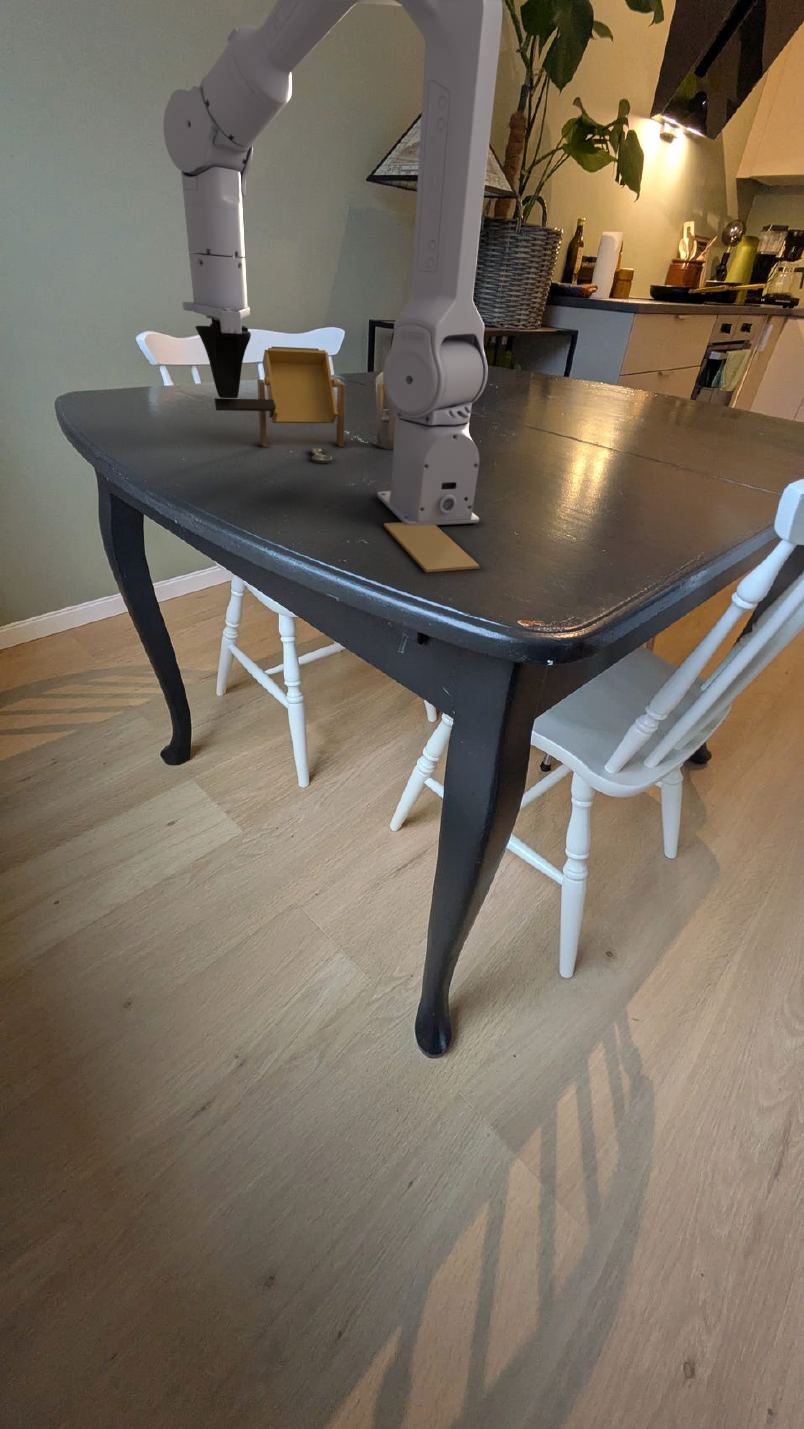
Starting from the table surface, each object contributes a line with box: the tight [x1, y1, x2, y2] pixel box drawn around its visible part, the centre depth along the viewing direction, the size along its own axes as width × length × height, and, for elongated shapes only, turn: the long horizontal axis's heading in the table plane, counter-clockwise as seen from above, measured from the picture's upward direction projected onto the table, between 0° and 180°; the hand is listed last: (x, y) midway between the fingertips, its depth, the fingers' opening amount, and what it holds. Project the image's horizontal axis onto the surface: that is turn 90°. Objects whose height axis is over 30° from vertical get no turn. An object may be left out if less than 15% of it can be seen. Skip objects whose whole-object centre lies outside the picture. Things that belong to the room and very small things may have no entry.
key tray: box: [214, 346, 339, 424], centre depth 79 cm, size 9×16×3 cm
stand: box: [257, 379, 346, 448], centre depth 81 cm, size 2×11×8 cm, turn 110°
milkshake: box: [375, 371, 396, 450], centre depth 84 cm, size 4×5×10 cm
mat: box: [383, 521, 480, 573], centre depth 58 cm, size 11×5×1 cm, turn 20°
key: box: [308, 448, 333, 464], centre depth 79 cm, size 5×2×1 cm, turn 22°
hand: (227, 397), depth 75 cm, fingers closed
